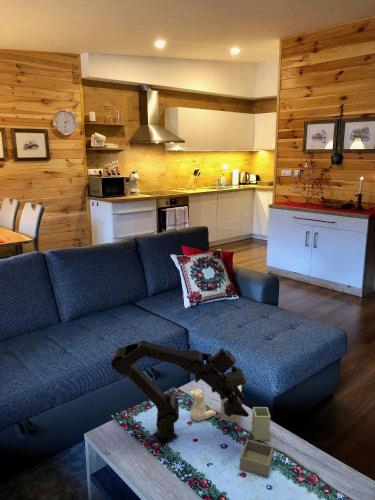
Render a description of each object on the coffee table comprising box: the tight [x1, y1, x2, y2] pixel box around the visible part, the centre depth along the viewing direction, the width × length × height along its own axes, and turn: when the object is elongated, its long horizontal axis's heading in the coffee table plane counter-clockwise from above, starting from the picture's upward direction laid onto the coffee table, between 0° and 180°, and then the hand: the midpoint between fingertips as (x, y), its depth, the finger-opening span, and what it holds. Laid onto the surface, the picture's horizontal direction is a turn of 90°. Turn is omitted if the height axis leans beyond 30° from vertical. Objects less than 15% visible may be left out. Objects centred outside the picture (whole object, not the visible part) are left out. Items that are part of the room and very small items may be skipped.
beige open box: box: [251, 406, 271, 442], centre depth 143 cm, size 5×5×10 cm
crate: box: [239, 439, 274, 479], centre depth 131 cm, size 9×9×4 cm
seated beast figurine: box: [190, 388, 217, 422], centre depth 153 cm, size 10×9×12 cm
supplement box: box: [220, 385, 243, 424], centre depth 153 cm, size 7×7×13 cm
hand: (245, 407), depth 141 cm, fingers open, 9 cm apart
